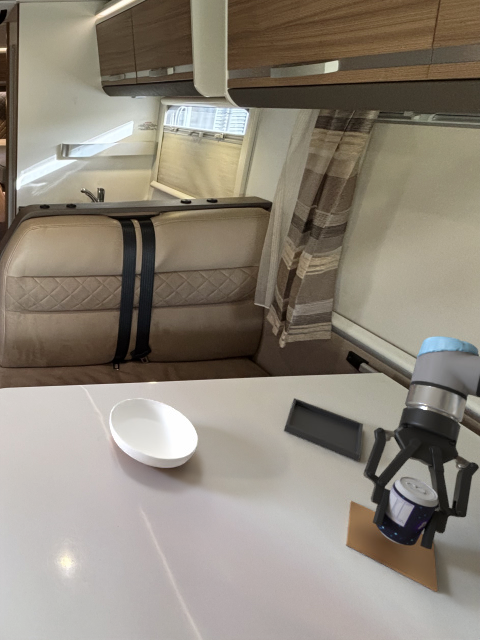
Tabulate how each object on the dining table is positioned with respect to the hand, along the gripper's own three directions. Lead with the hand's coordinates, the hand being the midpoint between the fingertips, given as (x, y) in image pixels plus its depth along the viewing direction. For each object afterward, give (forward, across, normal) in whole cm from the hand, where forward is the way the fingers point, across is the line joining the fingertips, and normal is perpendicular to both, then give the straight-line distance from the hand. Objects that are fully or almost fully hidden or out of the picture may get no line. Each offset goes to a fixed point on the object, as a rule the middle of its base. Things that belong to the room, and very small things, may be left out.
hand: (400, 535), depth 76 cm
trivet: (+2, 0, -7) cm, 7 cm away
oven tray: (-17, +12, -26) cm, 34 cm away
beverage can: (0, 0, -5) cm, 5 cm away
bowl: (+7, +43, -2) cm, 44 cm away
